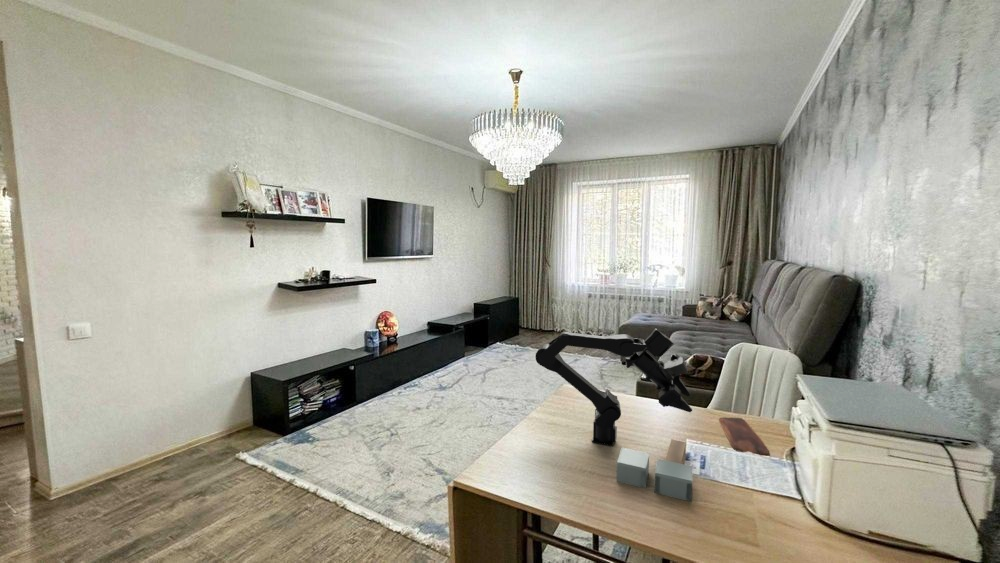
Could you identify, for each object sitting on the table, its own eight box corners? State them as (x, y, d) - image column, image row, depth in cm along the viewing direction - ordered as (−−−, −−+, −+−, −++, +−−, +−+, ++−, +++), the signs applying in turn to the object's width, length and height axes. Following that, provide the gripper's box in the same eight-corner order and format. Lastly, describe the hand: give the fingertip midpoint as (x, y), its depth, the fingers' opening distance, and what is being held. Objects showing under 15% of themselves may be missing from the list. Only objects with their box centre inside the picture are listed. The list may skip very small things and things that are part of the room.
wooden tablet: (715, 413, 145) (747, 413, 142) (716, 419, 146) (747, 419, 142) (733, 448, 120) (771, 449, 117) (733, 455, 121) (772, 457, 117)
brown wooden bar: (663, 476, 108) (663, 463, 107) (671, 450, 121) (671, 439, 121) (679, 480, 106) (680, 467, 105) (685, 453, 119) (685, 442, 119)
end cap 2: (654, 492, 100) (655, 472, 99) (656, 477, 106) (657, 458, 106) (691, 501, 96) (692, 480, 96) (691, 485, 103) (692, 466, 102)
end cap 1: (645, 488, 102) (646, 468, 101) (616, 481, 105) (617, 461, 104) (648, 471, 109) (649, 453, 109) (621, 465, 112) (622, 447, 112)
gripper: (670, 363, 110) (715, 403, 108) (669, 338, 127) (708, 373, 125) (641, 387, 115) (683, 426, 113) (644, 360, 131) (681, 393, 130)
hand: (690, 403), depth 120 cm, fingers open, 9 cm apart
